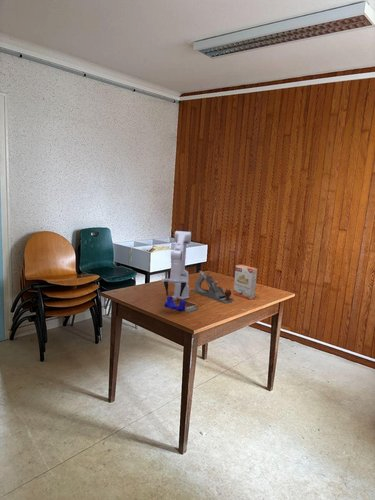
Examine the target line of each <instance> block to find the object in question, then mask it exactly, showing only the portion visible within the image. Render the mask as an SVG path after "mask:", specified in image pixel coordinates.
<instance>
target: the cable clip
mask: <svg viewBox="0 0 375 500" xmlns="http://www.w3.org/2000/svg"><path fill="white" fill-rule="evenodd" d="M172 296H173V295H171V296H170V295H168V296H166V301H167V302H166V301H165V302H164V308H167V309H169V308H170V310H176V311H179V312H180V313H181V312H185V311H186V306H185V301H184V300H185V299H184V300H183V301H180V304H179V303H178V305H177V304H176V303H174V302H173V299H174V298H173V297H172Z"/></svg>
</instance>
